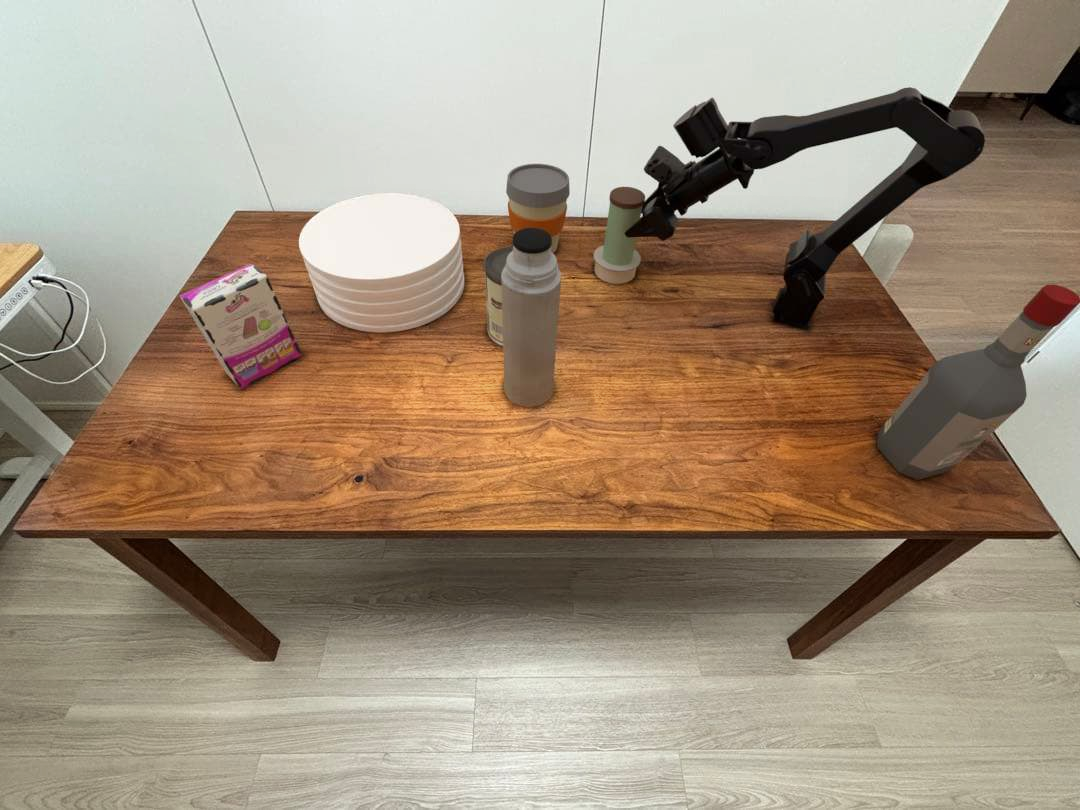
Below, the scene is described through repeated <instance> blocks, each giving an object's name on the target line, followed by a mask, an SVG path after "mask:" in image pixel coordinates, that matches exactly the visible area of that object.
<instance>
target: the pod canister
mask: <svg viewBox="0 0 1080 810" xmlns="http://www.w3.org/2000/svg"><path fill="white" fill-rule="evenodd" d="M609 193H610V194H609V199H608V200H609V205H608V214H607V221H606V226H605V227H606V229H605V234H604V236H605V237H604V241H603V242H604V243H603V245H604V249H603V259H604V260H605V261H606V262H608V263H610V264H613V265H626V264H629V263H630V262H631V261H632V258H633V253H634V250H635V246H636V243H637V237H631V238H628V237H626V235H625V231H627V230H628V229H629V228H630V227H631V226H632V225H633V224H634V223H636V222H637V221H638V220H639V219H640V218H641V217H642V214H641V211H642V206H643V204H644V201H645V200H646V195H645V193H644V192H643V191H642V190H640V189H638V188H635V187H631V186H618V187H615V188H613V189H612V190H611V191H610V192H609Z"/></svg>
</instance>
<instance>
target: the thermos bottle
mask: <svg viewBox="0 0 1080 810" xmlns="http://www.w3.org/2000/svg"><path fill="white" fill-rule="evenodd" d="M551 245H552V237H551V235H550V234H549V233H548V232H546V231H545V230H542V229H539V228H525V229H521V230H519V231H517V232H516V233H515V234H514V233H513V236H512V246H513V251H512V252H510V254H509V255H508V257H507V260H506V265H505V267H504V269H503V271H502V275H501V284H502V322H503V346H502V353H503V355H502V356H503V357H502V358H503V389H504V394H505V396H506V397H507V400H509V401H510V402H512V403H513V404H515V405H517V406H520V407H526V408H533V407H537V406H541V405H543V404H545V403H546V402H547V401H548V400H549V399H551V397H552V395H553V392H554V383H555V381H554V380H555V368H556V356H557V355H556V353H557V341H558V329H559V327H558V326H559V314H560V303H561V301H560V300H561V290H562V289H561V287H562V286H561V284H562V272H561V270H560V268H559V263H558V259H557V257H556V255H555V254H554V253H552V252H551Z"/></svg>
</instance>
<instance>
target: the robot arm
mask: <svg viewBox="0 0 1080 810" xmlns="http://www.w3.org/2000/svg"><path fill="white" fill-rule="evenodd" d="M672 127H673V129H674V130H675V132H676V133H677V135H678V136H679V138H680V140H681V142H682V143H683V145H684V146H685V148H686V149H687V151H688V152H689V154H690V155H691V157H695V158H696V159H698V158H702V159H700V160H699V161H695V160H690V161H689V162H687V163H684V162H682V161H681V159H680V158H679V157H677V156H676V155H675V154H674V153H672V152H671V151H670V150H668V149H667V148H665V147H664V146H662V145H658V146H657V147H656V148H655V150H654V152H653V153H652V154H651V156H650V158H649V159H648V160H647V161H646V164H645V165H644V167H643V172H644V173H645V174H646V175H648V176H649V177H651V178H652V179H653V180H655V181H656V182H657V183H658V185H657V187H656V189H654V191H653V192H651V194H650V195H649V196H648V197H647V198H645V201H644V204H643V206H642V211H641V216H640V219H639V220H638V221H637V222H636V223H634V224H633V225H632V226H631V227H630V228H629V229H628V230H627V231H625V235H626V237H628V238H631V237H636V238H658V240H660V241H662V242H664V241H666V240H668V239H670V238H672V237H674V234H675V232H676V230H677V227H678V224H679V218H678V216H677V215H676V214H675V213H676V211H678V213H679V215H680V216H681V217H682V216H684V215H686V214H687V212H688V209H689V208H691V207H692V206H694V205H696V204H698V203H699V202H700V203H701V204H704V203H706V202H708V199H709V197H710V196H711V195H713V194H715V193H716V192H718V191H719V190H721V189H722V188H724V187H726V186H728V185H729V184H731V183H733V182H735V181H736V180H738V182H739V184H740V185H741V187H742V189H745V190H746V189H748V187H749V184H750V181H751V178H752V176H754V174H755V170H763V169H766V168H768V167H771V166H773V165H776V164H779V163H782V162H783V161H786V160H788V158H791V157H793V156H794V155H796V154H798V153H800V152H802V151H804V150H807V149H809V148H815V147H818V146H823V145H827V144H831V143H835V142H839V141H845V140H849V139H853V138H858V137H861V136H865V135H869V134H875V133H877V132H882V131H886V130H891V129H894V128H897V129H898V130H900V131H902V132H903V133H904V134H906V135H907V136H908V137H909V138H911V140H913V141H914V142H915V144H914V146H913V148H911V151H910V152H909V154H908V155H907V157H906V158H905V160H903V162H902V163H901V164H900V165H899V166H898V167H896V169H894V170H893V171H892V172H891V173H890V174H888V175H887V176H886V177H885V178H884V179H883V180H881V181H880V182H879V183H878V184H877V185H876V186H875V187H873V188H872V189H871V190H870V191H869V192H867V194H865V195H864V196H862V198H861V199H859V200H858V201H857V202H856V203H854V204H853V206H851V207H850V208H849V209H848V210H847V211H846V212H844V213H843V214H842V215H841V216H839V218H837V219H836V220H835V221H834V222H833V223H831V225H829V226H828V227H827V228H826V229H824V230H822V231H820V232H817V233H815V234H813V233H812V232H811V231H810V230H809V229H806V230H805V231H804V232H803V233H802V235H801V236H800V237H799V238H798V239H797V240H796V241H794V242H791V243H789V247H788V251H787V253H786V256H785V262H784V268H783V274H782V275H783V276H782V279H783V281H784V283H785V284H784V286H783V287H780V288H779V289H778V291H777V294H776V296H775V298H774V300H773V301H772V307H771V312H772V314H773V317H772V321H773V322H774V323H777V324H781V325H786V326H790V327H791V326H792V327H796V328H800V329H805V330H809V329H810V327H811V320H812V317H813V316H814V313H815V311H816V310H817V308H818V306H819V305H820V303H821V302H822V301H823V300H824V299H825V295H826V294H825V291H826V279H827V272H828V271H829V270H830V268H831V267H832V266H833V264H834V262H835V261H836V259H837V258H838V256H839V255H840V254H841V253H842V252H843V251H844V250H846V249H847V248H848V247H850V246H851V245H852V244H853V243H854V242H856V241H857V240H859V239H860V238H861V237H862V236H863V235H864V234H866V233H867V232H868V231H870V230H871V229H872V228H873V227H875V226H876V225H877V224H879V222H881V221H882V220H884V219H885V218H886V217H887V216H888V215H890V214H891V213H892V212H893V211H895V210H896V209H897V208H899V207H900V206H901V205H902V204H903V203H905V202H906V201H907V200H909V199H910V198H911V197H912V196H914V194H916V193H917V192H918V191H920V190H921V189H923V188H924V187H926V186H930V185H933V184H935V183H938V182H941V181H943V180H946V179H948V178H949V177H951V176H953V175H954V174H956V173H958V172H960V171H961V170H963V169H965V168H966V167H968V166H969V165H971V164H972V163H974V162H975V161H976V160H977V159H978V158H979V157H980V156H981V154H982V153H983V151H984V147H985V144H986V139H985V134H984V131H983V129H982V126H981V123H980V121H979V119H978V117H977V116H976V114H975V113H973V112H971V111H970V110H966V109H965V110H964V109H958V110H953V109H952V108H950V107H949V106H948V105H946V104H944V103H942V102H941V101H938V100H936V99H933V98H931V97H929V96H927V95H925V94H923V93H921V92H920V91H919V90H918V89H917V88H915V87H911V86H910V87H903V88H900V89H898V90H897V91H895V92H891V93H888V94H884V95H880V96H876V97H872V98H868V99H865V100H860V101H857V102H853V103H848V104H845V105H842V106H838V107H833V108H830V109H826V110H823V111H818V112H815V113H812V114H807V115H788V114H782V115H772V116H763V117H759V118H757V119H754V120H753V121H729V122H728V123H727V122H726V120H725V118H724V117H723V115H722V113H721V111H720V109H719V106H718V104H717V101H716V100H715V98H714V97H711V98H709V99H708V100H706V101H702V102H701V103H699V104H697V105H696V104H695V105H694V106H692V107H690V108H689V109H688V110H687V111H686V112H685V113H684V114H682V115H681V116H680V117H679V118H678V119H677V120H676V121H675V122H674V124H673V125H672Z"/></svg>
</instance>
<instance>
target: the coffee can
mask: <svg viewBox="0 0 1080 810" xmlns="http://www.w3.org/2000/svg"><path fill="white" fill-rule="evenodd" d="M512 251H513V245H510V246H503V247H500V248H497V249H494V250H493V251H490V252H489V253H488V254H487V255H486V256H485V258H484V260H483V272H484V282H485V284H484V285H485V301H486V302H485V303H486V319H487V334H488V336H489V339H490V340H491V341H493V342H494V343H496V344H497V345H499V346H501V347H503V322H502V284H501V275H502V271H503V269H504V267H505V265H506V260H507V257H508V255H509V254H510V252H512Z"/></svg>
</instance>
